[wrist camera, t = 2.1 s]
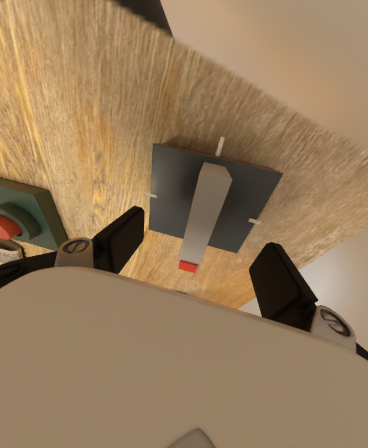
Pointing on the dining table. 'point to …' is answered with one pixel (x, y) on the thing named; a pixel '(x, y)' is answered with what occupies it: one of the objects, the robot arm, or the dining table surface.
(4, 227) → the button
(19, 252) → the newspaper
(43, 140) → the dining table surface
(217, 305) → the robot arm
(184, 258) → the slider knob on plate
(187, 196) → the base
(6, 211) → the button block
